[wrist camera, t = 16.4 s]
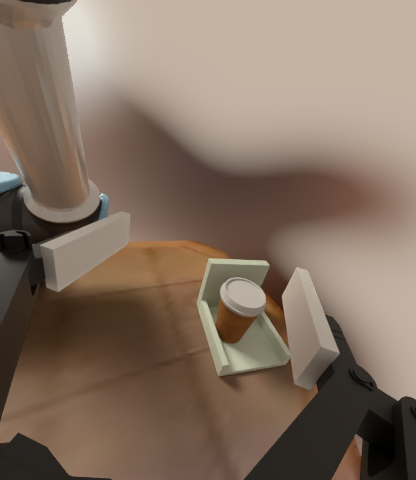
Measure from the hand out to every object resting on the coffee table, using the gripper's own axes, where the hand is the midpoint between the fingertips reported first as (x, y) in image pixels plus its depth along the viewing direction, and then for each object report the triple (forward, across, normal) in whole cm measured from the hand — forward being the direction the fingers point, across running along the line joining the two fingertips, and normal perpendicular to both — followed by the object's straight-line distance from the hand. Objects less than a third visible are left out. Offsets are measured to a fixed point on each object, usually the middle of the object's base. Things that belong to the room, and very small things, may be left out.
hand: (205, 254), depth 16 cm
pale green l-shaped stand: (+22, +9, -30) cm, 38 cm away
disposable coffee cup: (+21, +7, -29) cm, 37 cm away
